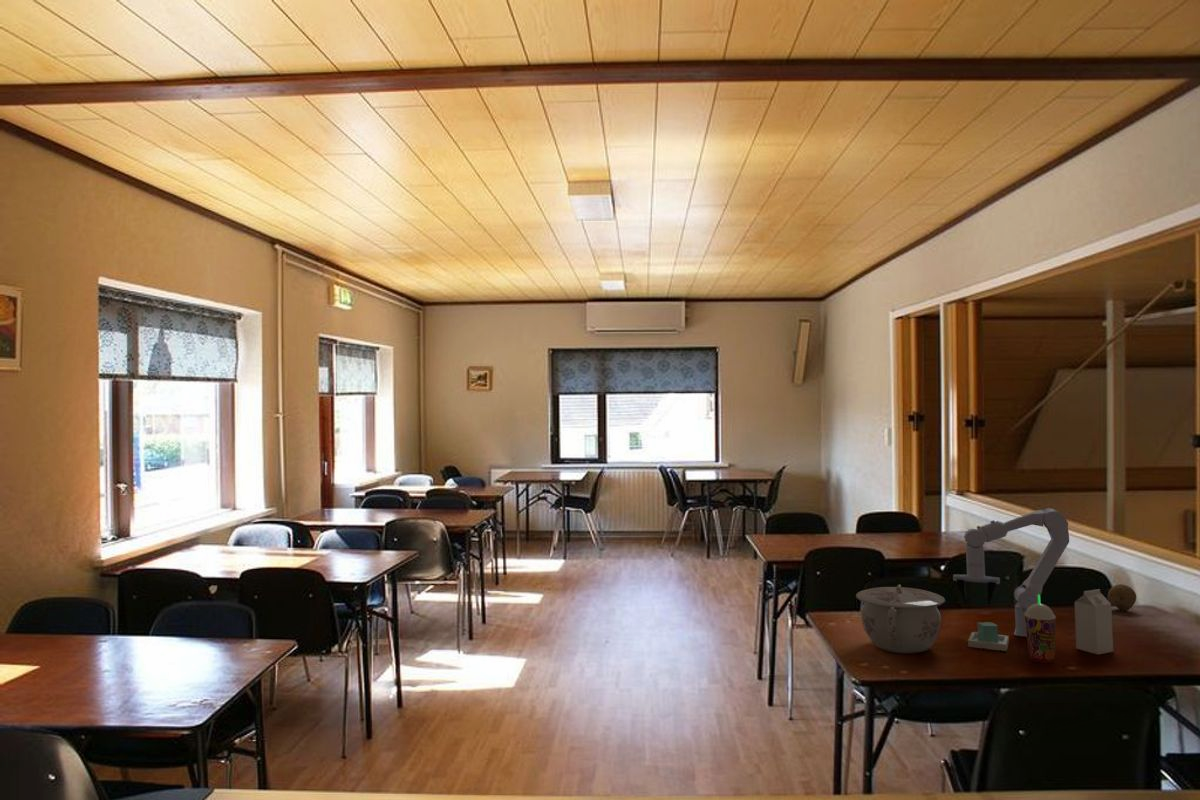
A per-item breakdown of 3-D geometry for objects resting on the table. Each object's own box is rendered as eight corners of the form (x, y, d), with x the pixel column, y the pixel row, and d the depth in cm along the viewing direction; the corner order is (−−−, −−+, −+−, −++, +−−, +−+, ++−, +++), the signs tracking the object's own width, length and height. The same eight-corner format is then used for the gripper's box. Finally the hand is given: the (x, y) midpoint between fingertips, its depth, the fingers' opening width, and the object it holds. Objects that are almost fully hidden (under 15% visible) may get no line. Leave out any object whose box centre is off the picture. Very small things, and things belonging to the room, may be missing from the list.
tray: (1008, 642, 255) (1008, 635, 255) (1006, 651, 246) (1006, 644, 246) (972, 638, 261) (971, 631, 261) (968, 646, 251) (968, 640, 252)
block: (991, 640, 256) (991, 622, 256) (998, 644, 251) (997, 625, 251) (978, 640, 256) (977, 622, 256) (984, 644, 251) (983, 626, 252)
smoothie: (1042, 666, 231) (1039, 598, 231) (1020, 658, 239) (1017, 593, 239) (1064, 662, 233) (1061, 596, 234) (1041, 655, 241) (1038, 590, 242)
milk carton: (1076, 649, 246) (1073, 589, 246) (1092, 646, 248) (1089, 587, 249) (1097, 655, 239) (1094, 593, 240) (1113, 652, 242) (1110, 591, 242)
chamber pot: (904, 632, 270) (901, 572, 271) (967, 653, 245) (964, 588, 245) (838, 642, 260) (836, 581, 261) (897, 666, 235) (894, 597, 235)
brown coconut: (1123, 615, 284) (1122, 587, 285) (1102, 609, 293) (1100, 583, 293) (1142, 612, 287) (1141, 585, 287) (1121, 607, 295) (1120, 581, 295)
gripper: (999, 563, 269) (1001, 602, 268) (954, 560, 276) (955, 598, 276) (998, 566, 263) (999, 606, 262) (951, 563, 270) (953, 602, 270)
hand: (977, 602), depth 269 cm, fingers open, 7 cm apart
